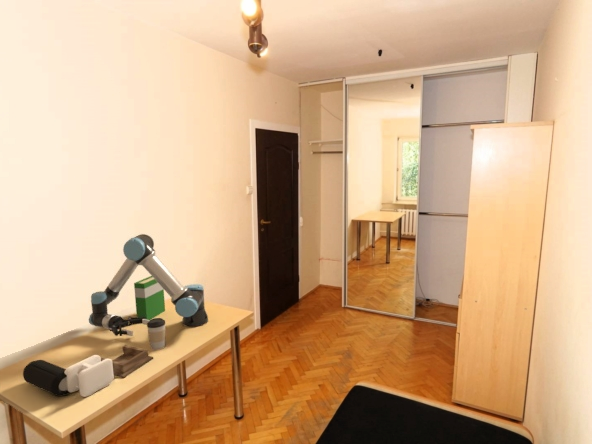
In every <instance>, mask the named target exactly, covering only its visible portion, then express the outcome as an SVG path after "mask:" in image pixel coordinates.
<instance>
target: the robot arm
mask: <svg viewBox="0 0 592 444" xmlns="http://www.w3.org/2000/svg"><path fill="white" fill-rule="evenodd" d="M154 245H155V243H154V239H153V238H152V237H151V235H148V234H145V233H141V234H138V235H135V236H133V237H131V238H129V239H128V240H127V241H126V242H125V243H124V245H123V249H122V251H123V255H124V256H125V258H126V259H125V260H124V262H123V263H122V265H121V266H120V268H119V269H118V270H117V272H116V273H115V275H114V277H113V278H111V281H110V282H109V283H108V286H106V288H105V289H104V290H103V291H96V292H93V293H92V294H91V296H90V298H91V299H90V302H91V311H92V312H91V314H89V317H88V323H89V325H92V326H95V327H97V328H98V327H99V328H105V329H108V330H109V331H110V332H112V333H113V334H114V336H116V337H118V336H119V337H122V336H129V337H133V336H134V330H132V329H127V328H125V327H129V326H132V325H139V324H140V325H141V324H142V325H146V326H147V323H148V322H149V321H150V320H146V317H137V316H136V317H135V316H134V317H133V316H129V317H128V318H127V319H126V318H124V317H122V316H121V315H115V314H109V313H108V305H109V304H110V303H112V302H113V301H115V300H116V299H117V298H118V297H119V295H120V292H121V291H122V289H123V287H124V286H125V285H126V283H127V282H128V281H129V279H130V278H131V276H132V275H133V274H134V272H135V270H136V269H137V268H138V267H139V266H142V267H143V268H144V269H145V270H146V271H147V272H148V273H149V275H150V276H152V277H153V278H154V279H155V280H156V281H157V282H158V283H159V284H160V285H161V287H162V288H163V289H164V292H166V293H167V294H168V296H169V297H170V298H171V304H173V305H174V310H175V313H176V314H177V315H179V316H180V317H182V325H183V326H184V327H191V328H194V327H201V326H203V325H206V324H207V323H208V322H209V316H208V313H207V311H206V309H205V294H204V292H205V289H204V286H203V285H202V284H199V283H198V284H197V283H196V284H188V285H185V286H183V284H182V283H181V282H180V281H179V280H178V279H177V277H175V276H174V274H173V273H172V272H171V271H170V270H169V269H168V268H167V267H166V266H165V265H164V263H163V262H162V261H161V260H160V259H159V258H158V257H157V255H156V250H155V248H154Z"/></svg>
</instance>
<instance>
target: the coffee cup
mask: <svg viewBox="0 0 592 444" xmlns="http://www.w3.org/2000/svg"><path fill="white" fill-rule="evenodd" d="M146 327H147V334H148V339H149V340H148V341H149V343H150V344H149V345H150V348H151V350H153V351H154V350H155V351H159V350H161V349H164V348H165V346H166V320H165V319H164V318H162V317H154V318H152V319H151V320H150V321H149V322H148V323H147V325H146Z"/></svg>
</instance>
